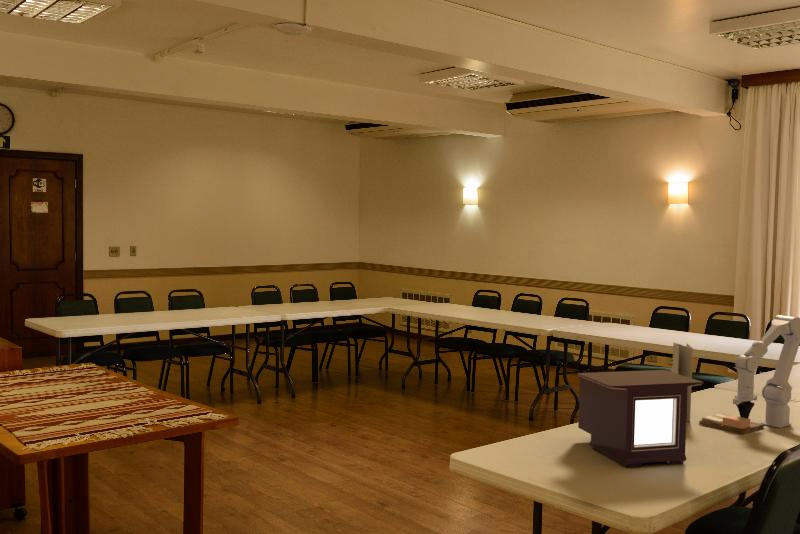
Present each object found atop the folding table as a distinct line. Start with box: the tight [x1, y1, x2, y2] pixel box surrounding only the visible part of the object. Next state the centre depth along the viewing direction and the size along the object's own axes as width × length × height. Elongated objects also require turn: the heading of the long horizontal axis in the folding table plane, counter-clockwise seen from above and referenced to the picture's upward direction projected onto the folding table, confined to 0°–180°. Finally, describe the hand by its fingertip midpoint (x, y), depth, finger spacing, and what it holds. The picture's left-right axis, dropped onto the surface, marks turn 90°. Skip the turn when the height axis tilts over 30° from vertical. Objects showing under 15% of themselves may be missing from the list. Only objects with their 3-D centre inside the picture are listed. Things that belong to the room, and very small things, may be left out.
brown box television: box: [576, 369, 705, 469], centre depth 273 cm, size 35×35×27 cm
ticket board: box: [698, 412, 765, 435], centre depth 311 cm, size 16×18×3 cm
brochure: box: [671, 342, 694, 423], centre depth 323 cm, size 14×6×30 cm, turn 168°
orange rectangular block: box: [723, 414, 751, 429], centre depth 305 cm, size 6×8×3 cm
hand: (744, 420), depth 308 cm, fingers closed
